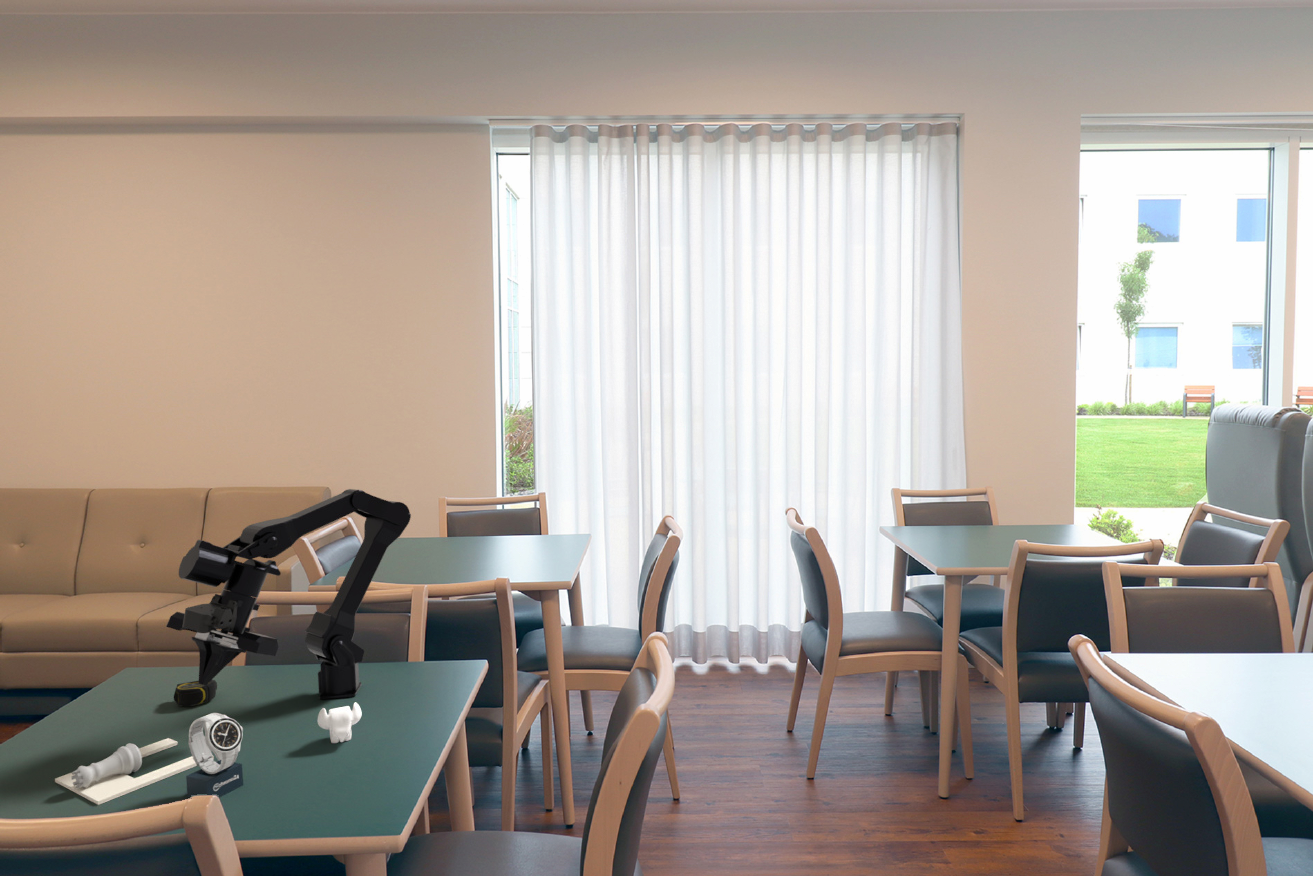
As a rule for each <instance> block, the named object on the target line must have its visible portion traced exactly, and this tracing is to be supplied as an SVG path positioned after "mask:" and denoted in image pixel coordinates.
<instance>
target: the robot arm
mask: <svg viewBox="0 0 1313 876" xmlns="http://www.w3.org/2000/svg"><path fill="white" fill-rule="evenodd" d="M352 513H355V514H357V515H359V516H360V517H363V518H365V522H364V525H363V526H364V528H363V529H364V537H363V541H362V542H361V545H360V547H359V549H358V551H357V553H356V555H355V557H354V559H353V561H352V563H351V565H350V567H349V569H348V571H347V573H346V575H345V576H344V579H343V581H342V583H341V586H340V587H339V590H338V592H337V593H336V595H335V597H334V600H333V602H332V604H331V605H330V607H328V608H327V609H326V610H325V611H324V612H320V611H315V612H314V614H313V617H312V619H311V623H310V624H309V626H308V627H307V628H306V629H305V633H306V635H305V640H304V641H305V645H306V648H307V649H308V650H309V652H311V653H312V654H314V656H315V658H316V660H317V661H321V663H320V669H319V671H318V672H317V681H318V686H317V687H318V693H319V694H320V695H319V697H318V698H319V700H328V699H338V698H348V697H350V698H351V697H355V696H356V695H357V694H358V692H359V691H360V688H361V687H362V682H361V681H360V672H359V671H360V670H359V663H361V662H362V661H363V657H364V654H365V650H364V649H362V647H360V646H358V645H357V644H356V643H354V642H353V639H354V635H355V632H356V614H357V613H358V612H357V611H358V609H359V608H360V606H361V604H362V602H363V600H364V597H365V595H366V593H367V591H368V590H369V587H370V586H371V585H370V584H371V583H372V581H373V579H374V576H375V575H376V572H377V570H378V568H379V566H380V564H381V562H382V559H384V555H385V553H386V552H387V549H388V548H389V547H390V546H391V545H392V544H394V542H395V541H397V540H398V538H400V536H402V534H403V533H404V531H405V530H406V528H407V526H408V525H409V523H410V520H411V518H412V517H411V516H412V514H411V513H410V509H409V507H408V505H406V504H405V503H404V502H401V501H392V500H387V499H384V498H383V499H382V498H380V497H377V496H374V495H372V494H371V493H368V492H365V491H364V490H362V489H353V488H348V489H345V490H344V491H343V492H341V493H339V494H337V495H334V496H332V497H330V498H327V499H326V500H323V501H320V502H318V503H315V504H314V505H312V506H309V507H307V508H304V509H302V510H300V511H298V512H295V513H293V514H291V515H288V516H285V517H279V518H274V519H268V520H264V521H260V522H255V523H251V524H250V525H248V526H246V527H245V528H243V530H242V531H241V535H240V536H239V537H236V538H235V539H234V540H232V541H231V542H229V543H227V544H226V545H224V546H223V547H222V546H218V545H215V544H212V543H211V542H209V541H206V540H201V539H197V540H196V542H195V545H194V546H192V547H191V548H190V549H189V550H188V551H187V553H186V554H185V555H184V556H183V557H182V559H181V561H180V564H179V569H178V577H179V578H180V579H182V580H186V581H190V582H194V583H196V584H201V585H204V586H209V587H213V588H216V587H219V586H221V584H224V586H223V589H222V590H221V592H220V594H218V593H215V594H214V595H212V598H211V600H210V602H208V603H201V604H197V605H193V606H188V607H186V608H185V610H184V612H180V611H176V612H175V613H173V614H172V615H170V617H169V619H168V621H167V622H166V625H165V627H166V628H169V629H173V630H176V631H180V632H181V631H183V630H184V631H190V632H193V633H196V634H195V636H191V641H192V642H193V641H194V642H195V644H196V646H197V647H198V651H199V652H198V653H199V664H198V665H199V669H198V681H199V684H201V685H207V684H208V683H209V682H210V681H211V680H214V679H215V678H216V677H217V676H218V674H220V673H221V672H222V670H223V669H224V668H225V667H226V666H228V664H229V663H231V662H232V661H233V660H234V659H235V658H237V657H238V656H239V655H241V653H243V654H245V653H247V652H250V653H253V654H259V655H267V656H274V657H276V654H277V652H278V649H279V648H280V645H279V644H280V643H279V639H278V638H274V637H271V636H268V635H264V634H261V633H255V632H251V631H250V630H251V627H247V625H248V622H249V620H250V617H251V615H252V613H253V611H256V612H258V611H259V608H260V607H261V606H260V604H256V603H257V600H258V597H259V595H260V593H261V590H262V588H263V585H264V584H265V581H266V579H267V576H268V574H269V575H272V576H276V577H277V576H278V577H279V576H281V573H282V572H281V571H280V569H279V567H278V566H277V563H276V560H271V559H272V558H273V559H274V558H276V557H277V556H280V555H281V554H282V553H284V552H285V551H287V550H288V549H289V548H291V547H292V546H294V544H295V543H296V542H298V540H299V539H301V538H302V537H303V536H305V535H307V534H309V533H311V532H314V531H317V530H319V529H320V528H322V527H324V526H326V525H329V524H330V523H333V522H335V521H338V520H340V519H341V518H345V516H346V517H347V516H348V515H350V514H352ZM237 558H241V559H244V560H245V559H246V560H245V561H244V562H241V561H238V560H236V559H237ZM256 558H263V559H267V561H265V562H264V561H260V560H257V559H256ZM268 559H269V560H268Z"/></svg>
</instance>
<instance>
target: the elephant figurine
mask: <svg viewBox="0 0 1313 876" xmlns="http://www.w3.org/2000/svg"><path fill="white" fill-rule="evenodd" d="M352 704H353V705H352V709H351V707H350V706H349V705H346V706H345V705H344V706H342V707H341V706H340V707H334V708H330V709H329V710H328V711H327V710H326V708H325V707H322V708H321V709H320V711H319V713H318V714H317V724H318V726H319V727H320V728H321V729H323V730H329V739H330V742H331V744H337V743H339V742H340V743H343V742H348V741H350V740H352V733H353V732H352V726H353V725H356V724H357V723H358V722H359V721H360V720H361V718H362V716H363V715H362V714H363V713H362V709H361V706H360V705H359V703H358V702H354V703H352ZM327 712H328V713H327Z"/></svg>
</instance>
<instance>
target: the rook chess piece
mask: <svg viewBox="0 0 1313 876" xmlns="http://www.w3.org/2000/svg"><path fill="white" fill-rule="evenodd" d="M139 748H140V747H138V746H137V745H136V744H135V743H130V742H129V743H127V744H126V745H125V746H124V745H123V746H120V747H118V748H117V749H116V751H114V752H113V753H112V754H111V755H110V756H108V757H107V758H103V760H100V761H97V762H92V763H90V765H88V766H85V765H80V766H78V767H77V769H76V770H74V771H72V772H71V773H72V775H74V774H75V775H74V776H71V777H72V780H73V779H76V781H75V782H73V785H74V786H75V785H77V784H78V785H77V786H76V788H80V787H83V788H87V787H88V786H89V785H90V783H91V782H93V781H95V782H97V781H99V780H100V779H101V778H104V777H107V776H111V775H115V774H119V775H120V774H126V775H130V774H132V772H133V773H136V772H138V771H139V769H140V768H141V767H142V763H143V758H142V756H141V753H140V750H139Z"/></svg>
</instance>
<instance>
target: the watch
mask: <svg viewBox="0 0 1313 876" xmlns="http://www.w3.org/2000/svg"><path fill="white" fill-rule="evenodd" d="M243 732H244V728H243V726H241V725H240V723H239V722H238V721H237V720H235V719H234V718H231V717H229V716H227V714H222V713H220V712H219V713H218V712H211V713H209V714H207V715H204V716H201V717H199V718H196V719H195V720H193V722H192V723H191V724H190V726H189V730H188V741H187V742H188V747H189V751H190V753H191V756H193V760H194V761H195V763H196V765H197V766H196V767H199V769H198V770H196V771H194V772H192V773H189V774H187V775H186V776H185V777H186V792H187V793H186V794H187V798H188V797H191V795H197V794H207V795H212V794H217V795H219V798H220V797H222V796H224V795H226V794H228V793H230V792H232V791H234V790H237V789H238V788H240V787H242V786H244V773H243V764H242V763H239V762H236V761H237V757H238V755H239V752H240V751H241V745H242V744H241V743H242V740H243V738H244V737H243ZM213 754H214V755H213ZM213 756H214V757H215V758H216V759H217V761H215V760H214V759H212V757H213Z"/></svg>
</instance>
